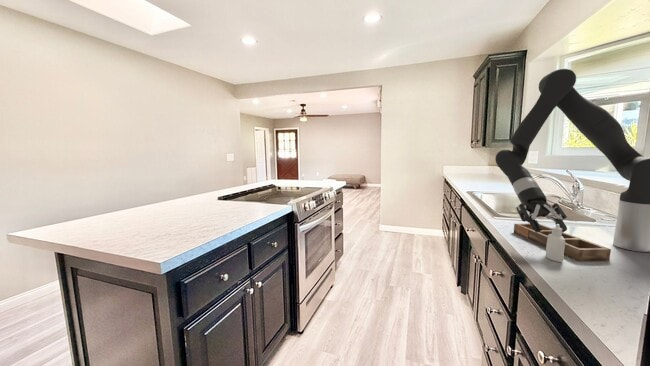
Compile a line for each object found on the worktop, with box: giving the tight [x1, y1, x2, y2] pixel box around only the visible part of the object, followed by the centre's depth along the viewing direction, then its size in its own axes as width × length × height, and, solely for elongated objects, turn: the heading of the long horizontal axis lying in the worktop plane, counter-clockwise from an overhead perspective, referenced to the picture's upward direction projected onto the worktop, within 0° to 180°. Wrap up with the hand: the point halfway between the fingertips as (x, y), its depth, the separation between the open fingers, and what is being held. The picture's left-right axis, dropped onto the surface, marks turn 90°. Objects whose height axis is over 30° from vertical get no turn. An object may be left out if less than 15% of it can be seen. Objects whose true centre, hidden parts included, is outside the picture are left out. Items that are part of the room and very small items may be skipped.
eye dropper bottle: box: [545, 224, 565, 263], centre depth 86 cm, size 4×6×12 cm
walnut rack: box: [513, 222, 612, 262], centre depth 99 cm, size 11×29×4 cm, turn 1°
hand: (551, 231), depth 88 cm, fingers open, 8 cm apart
